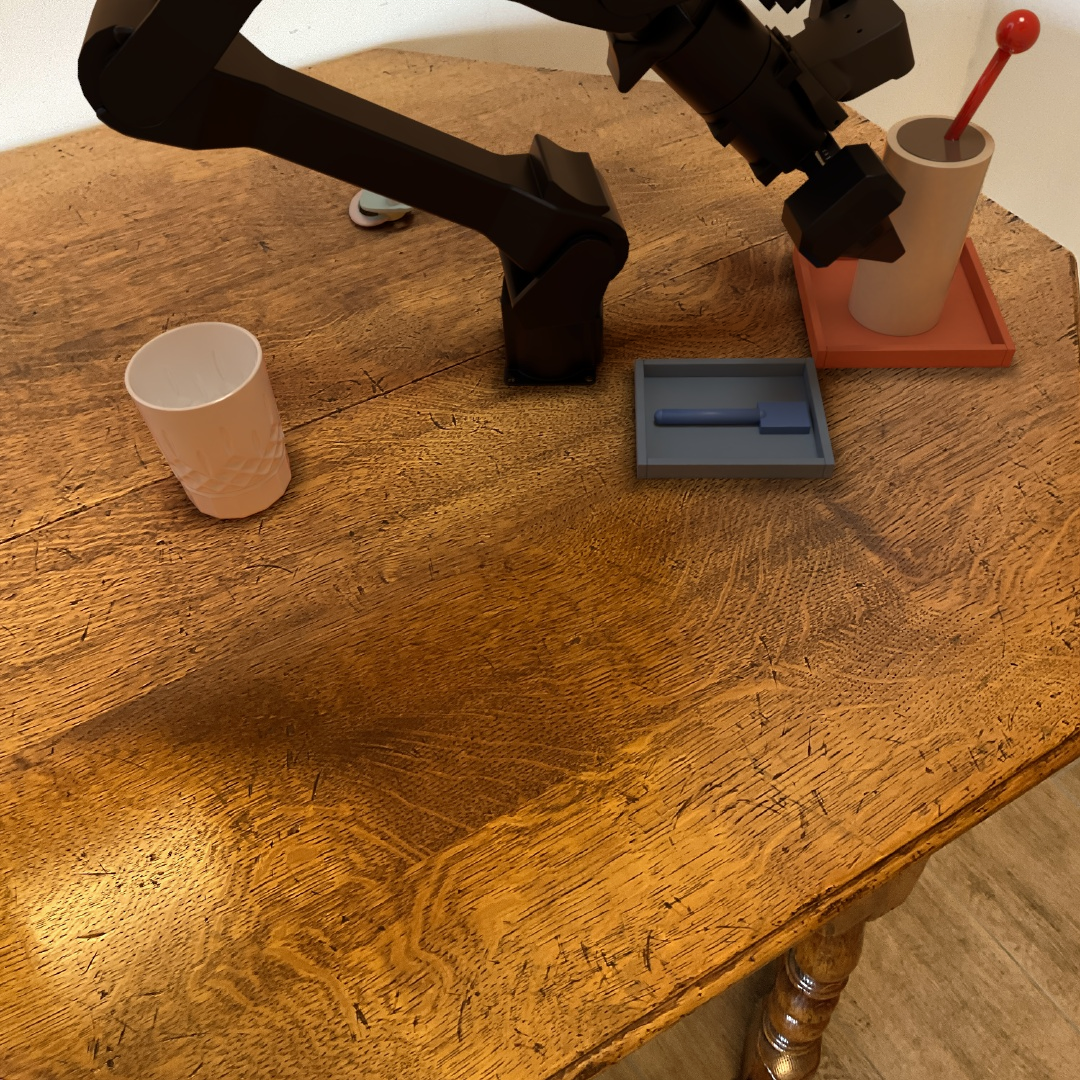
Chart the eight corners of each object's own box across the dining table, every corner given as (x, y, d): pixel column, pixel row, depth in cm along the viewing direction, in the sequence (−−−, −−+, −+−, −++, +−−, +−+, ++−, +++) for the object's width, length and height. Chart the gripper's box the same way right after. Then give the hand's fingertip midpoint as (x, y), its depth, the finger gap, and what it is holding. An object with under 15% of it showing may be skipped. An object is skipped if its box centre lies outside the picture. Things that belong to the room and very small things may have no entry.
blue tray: (636, 483, 64) (637, 464, 63) (634, 377, 70) (634, 358, 69) (830, 483, 63) (835, 464, 62) (809, 376, 70) (813, 357, 68)
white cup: (197, 544, 62) (141, 428, 55) (167, 466, 67) (111, 348, 59) (317, 498, 64) (279, 379, 57) (279, 425, 69) (239, 306, 61)
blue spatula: (654, 434, 66) (654, 423, 65) (653, 409, 67) (653, 398, 67) (809, 434, 65) (811, 423, 64) (804, 409, 67) (807, 397, 66)
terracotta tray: (813, 373, 70) (818, 350, 68) (791, 262, 78) (795, 239, 77) (1007, 371, 69) (1016, 349, 67) (963, 259, 77) (971, 237, 76)
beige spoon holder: (866, 342, 71) (942, 48, 55) (835, 287, 75) (897, -1, 59) (968, 328, 71) (1072, 32, 56) (931, 274, 76) (1018, -15, 60)
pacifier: (342, 234, 84) (412, 234, 83) (324, 165, 79) (398, 164, 78) (361, 187, 88) (427, 186, 88) (345, 119, 84) (414, 117, 83)
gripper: (911, 26, 48) (1049, 206, 57) (790, -107, 60) (921, 60, 69) (732, 194, 53) (885, 334, 62) (655, 42, 65) (792, 178, 74)
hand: (872, 217), depth 67 cm, fingers open, 9 cm apart
